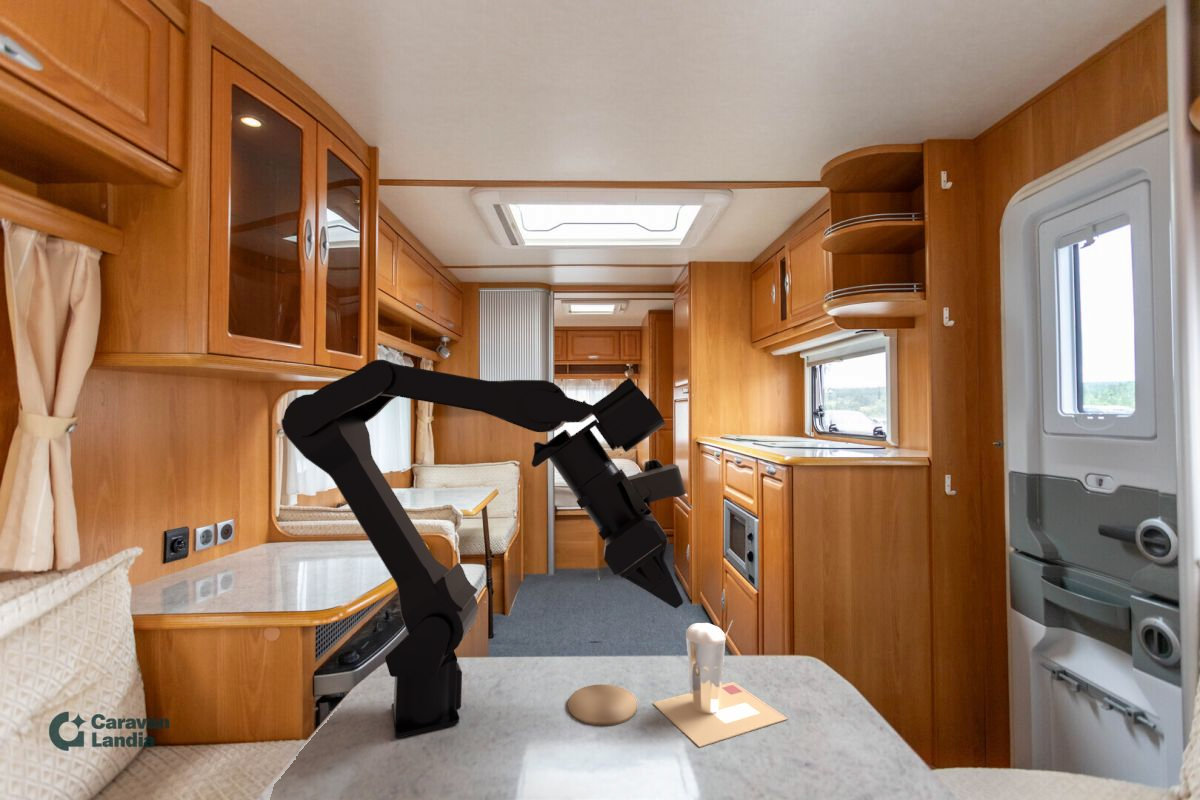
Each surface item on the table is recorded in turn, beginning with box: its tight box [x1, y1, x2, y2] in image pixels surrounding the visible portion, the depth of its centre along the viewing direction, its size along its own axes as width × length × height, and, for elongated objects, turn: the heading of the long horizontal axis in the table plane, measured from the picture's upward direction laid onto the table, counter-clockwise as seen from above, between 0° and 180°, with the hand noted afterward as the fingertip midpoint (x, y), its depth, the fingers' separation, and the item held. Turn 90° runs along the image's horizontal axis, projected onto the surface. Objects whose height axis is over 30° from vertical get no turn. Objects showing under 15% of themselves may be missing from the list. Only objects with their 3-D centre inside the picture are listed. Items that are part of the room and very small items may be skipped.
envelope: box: [652, 681, 788, 748], centre depth 57 cm, size 12×9×1 cm
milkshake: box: [685, 619, 734, 714], centre depth 58 cm, size 4×5×10 cm
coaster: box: [567, 683, 638, 727], centre depth 58 cm, size 8×8×1 cm
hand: (673, 591), depth 56 cm, fingers open, 9 cm apart
